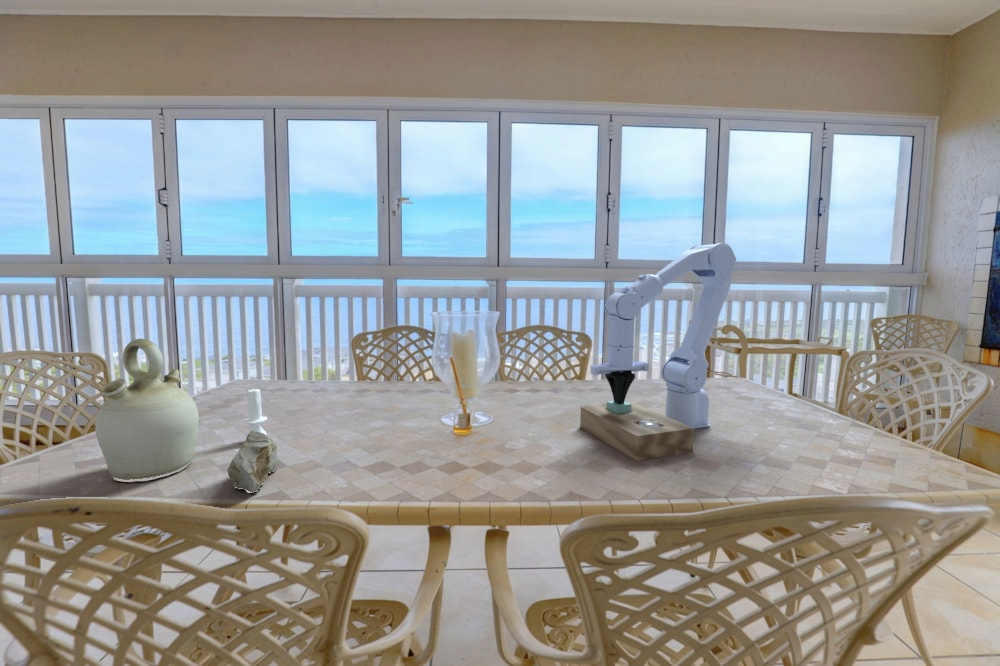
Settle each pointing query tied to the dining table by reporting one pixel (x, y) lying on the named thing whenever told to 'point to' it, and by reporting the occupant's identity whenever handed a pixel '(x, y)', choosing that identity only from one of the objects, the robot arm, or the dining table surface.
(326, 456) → the dining table surface
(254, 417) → the candle
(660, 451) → the socket block
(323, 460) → the dining table surface
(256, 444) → the rock
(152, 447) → the jug
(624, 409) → the peg square
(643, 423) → the peg round
